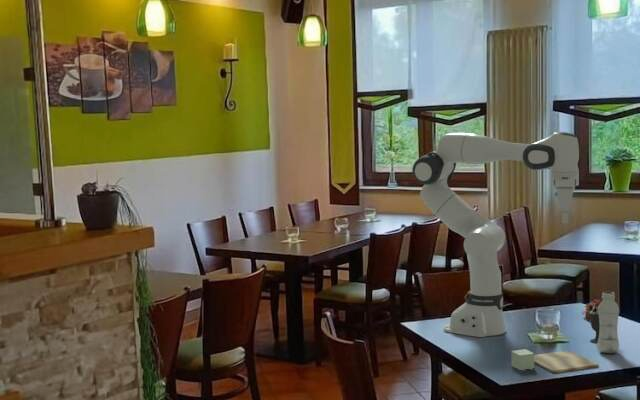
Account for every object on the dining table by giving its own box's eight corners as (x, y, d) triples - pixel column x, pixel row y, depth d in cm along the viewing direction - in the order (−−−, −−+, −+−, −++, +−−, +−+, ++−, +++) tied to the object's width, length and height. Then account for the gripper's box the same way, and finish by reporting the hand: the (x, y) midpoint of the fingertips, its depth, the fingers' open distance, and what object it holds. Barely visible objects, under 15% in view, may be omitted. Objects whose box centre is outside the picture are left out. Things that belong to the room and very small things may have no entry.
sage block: (519, 371, 240) (519, 355, 239) (511, 366, 244) (511, 350, 244) (534, 369, 241) (534, 353, 240) (525, 364, 246) (525, 349, 245)
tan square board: (553, 373, 236) (553, 370, 236) (525, 358, 251) (525, 356, 251) (598, 366, 240) (598, 364, 240) (568, 352, 256) (568, 350, 256)
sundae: (609, 344, 263) (609, 301, 262) (588, 344, 265) (588, 300, 263) (606, 339, 270) (606, 296, 268) (586, 338, 271) (586, 296, 270)
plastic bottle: (597, 349, 259) (597, 290, 257) (619, 350, 256) (619, 291, 254) (596, 354, 253) (596, 294, 251) (619, 356, 250) (619, 295, 248)
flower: (613, 312, 298) (601, 295, 300) (611, 313, 290) (599, 295, 292) (591, 325, 301) (579, 308, 303) (589, 327, 292) (577, 308, 295)
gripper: (555, 177, 272) (555, 217, 273) (554, 182, 252) (554, 224, 254) (574, 177, 270) (574, 217, 271) (575, 182, 250) (575, 225, 252)
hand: (565, 220), depth 262 cm, fingers open, 8 cm apart
